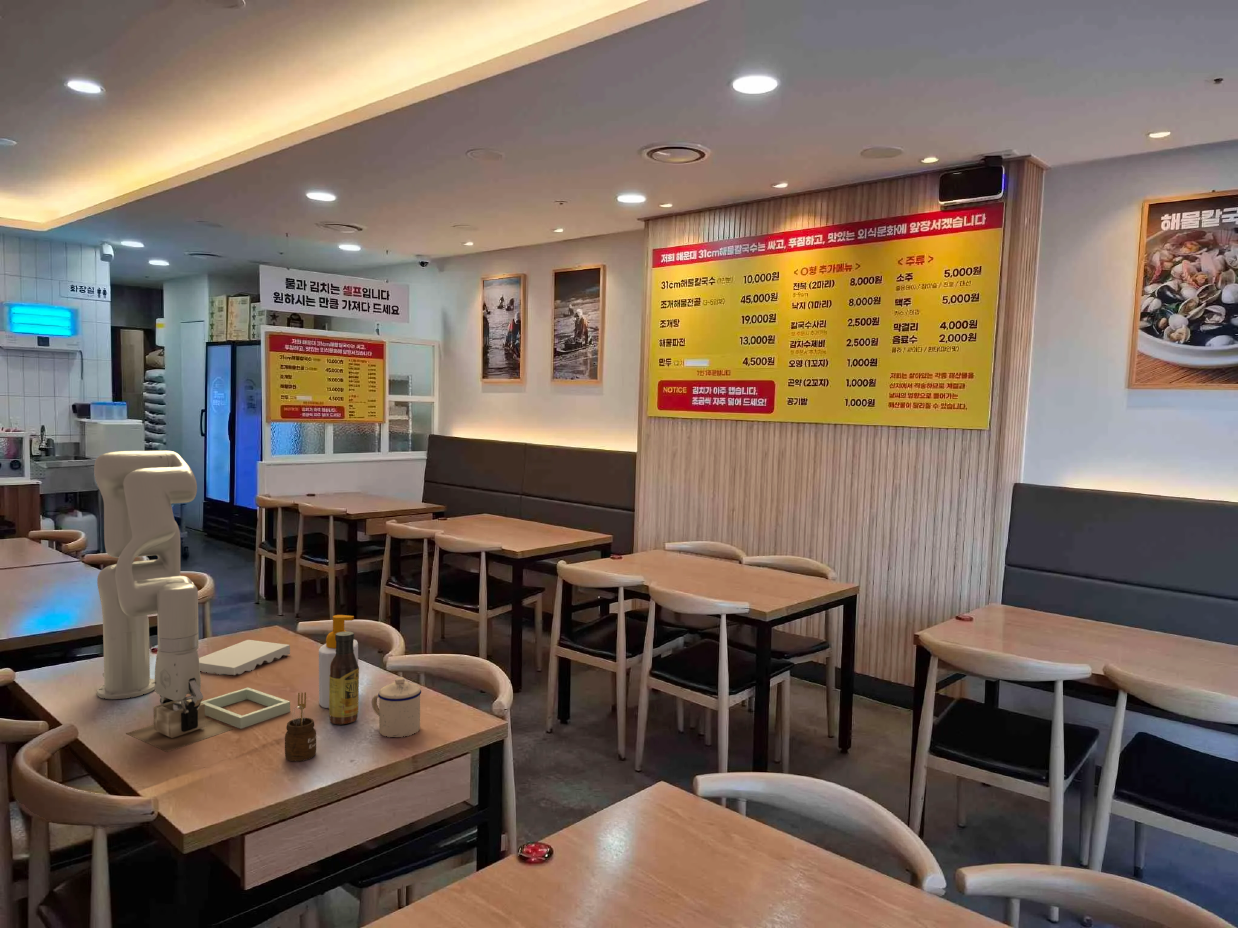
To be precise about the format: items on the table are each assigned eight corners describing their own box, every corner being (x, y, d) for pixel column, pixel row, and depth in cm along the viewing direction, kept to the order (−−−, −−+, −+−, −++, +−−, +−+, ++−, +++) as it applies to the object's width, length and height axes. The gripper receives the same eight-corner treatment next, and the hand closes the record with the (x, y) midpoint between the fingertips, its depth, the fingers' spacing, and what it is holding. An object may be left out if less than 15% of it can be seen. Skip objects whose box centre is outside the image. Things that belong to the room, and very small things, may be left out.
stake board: (125, 740, 168) (125, 733, 168) (191, 719, 180) (191, 712, 180) (167, 759, 160) (167, 751, 159) (233, 735, 171) (233, 728, 171)
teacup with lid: (429, 726, 178) (429, 675, 177) (403, 741, 170) (403, 687, 169) (386, 717, 183) (386, 667, 182) (358, 731, 175) (358, 679, 174)
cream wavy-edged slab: (234, 680, 208) (290, 656, 227) (234, 667, 208) (289, 644, 227) (190, 673, 213) (248, 650, 232) (189, 661, 213) (247, 639, 232)
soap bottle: (345, 709, 187) (345, 623, 186) (310, 708, 188) (310, 622, 186) (365, 689, 201) (365, 609, 199) (332, 688, 201) (332, 608, 199)
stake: (171, 731, 169) (170, 703, 169) (182, 727, 171) (182, 700, 171) (177, 734, 168) (177, 706, 168) (188, 730, 170) (188, 702, 170)
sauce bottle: (349, 727, 177) (348, 638, 176) (323, 724, 178) (323, 636, 177) (364, 716, 183) (364, 630, 182) (339, 713, 185) (339, 628, 183)
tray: (198, 718, 180) (198, 702, 180) (248, 702, 190) (248, 687, 190) (240, 735, 172) (240, 717, 171) (290, 717, 182) (290, 701, 181)
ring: (153, 729, 169) (153, 706, 168) (186, 719, 175) (186, 696, 174) (171, 737, 165) (171, 714, 165) (205, 726, 171) (204, 703, 171)
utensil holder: (283, 763, 158) (282, 704, 158) (287, 750, 165) (286, 693, 164) (314, 760, 160) (314, 701, 159) (317, 747, 166) (317, 691, 165)
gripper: (138, 639, 170) (139, 721, 171) (183, 654, 161) (184, 741, 162) (173, 631, 176) (174, 710, 178) (219, 645, 167) (220, 729, 168)
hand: (179, 724), depth 170 cm, fingers closed on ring, 7 cm apart
